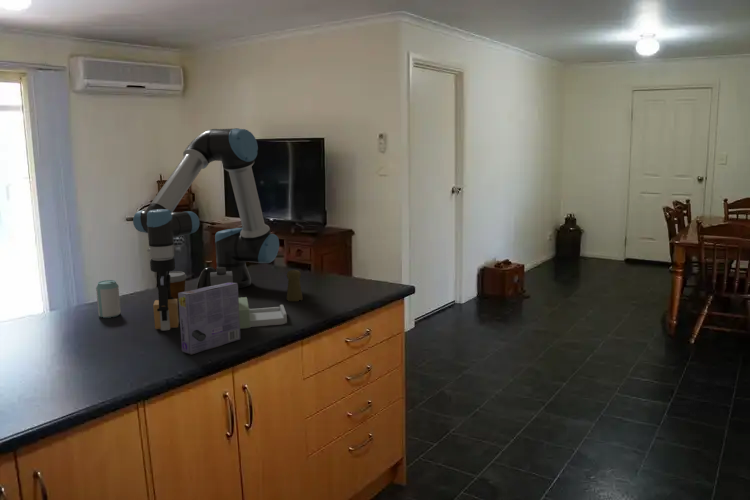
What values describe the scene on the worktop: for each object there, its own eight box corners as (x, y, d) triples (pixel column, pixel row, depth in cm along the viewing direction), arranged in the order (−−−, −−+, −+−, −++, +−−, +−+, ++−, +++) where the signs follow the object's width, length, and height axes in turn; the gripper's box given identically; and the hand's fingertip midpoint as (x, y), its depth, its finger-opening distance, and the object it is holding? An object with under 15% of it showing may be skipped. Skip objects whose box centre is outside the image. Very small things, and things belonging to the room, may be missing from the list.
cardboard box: (156, 323, 209) (155, 300, 207) (179, 322, 210) (177, 298, 209) (155, 329, 203) (153, 305, 202) (177, 327, 205) (176, 303, 203)
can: (112, 311, 223) (109, 278, 221) (125, 314, 219) (122, 280, 217) (94, 316, 217) (91, 282, 215) (107, 319, 213) (104, 285, 211)
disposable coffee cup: (167, 311, 222) (164, 278, 220) (156, 306, 230) (154, 273, 227) (192, 306, 228) (190, 274, 226) (182, 301, 235) (179, 270, 233)
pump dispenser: (219, 313, 219) (216, 270, 216) (191, 312, 221) (188, 269, 218) (231, 305, 229) (229, 264, 226) (204, 304, 231) (202, 263, 228)
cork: (304, 300, 235) (303, 271, 233) (288, 302, 233) (287, 272, 231) (300, 296, 241) (299, 268, 239) (284, 298, 239) (283, 269, 237)
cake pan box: (234, 335, 196) (231, 279, 193) (244, 338, 193) (241, 282, 190) (180, 352, 181) (176, 292, 178) (190, 356, 178) (186, 295, 175)
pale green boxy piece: (205, 317, 215) (202, 265, 212) (282, 311, 221) (280, 260, 218) (204, 331, 200) (201, 275, 197) (287, 324, 206) (285, 270, 203)
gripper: (153, 252, 213) (157, 316, 217) (146, 266, 191) (151, 336, 195) (176, 251, 214) (180, 314, 218) (172, 264, 192) (176, 334, 197)
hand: (166, 324), depth 207 cm, fingers open, 10 cm apart
